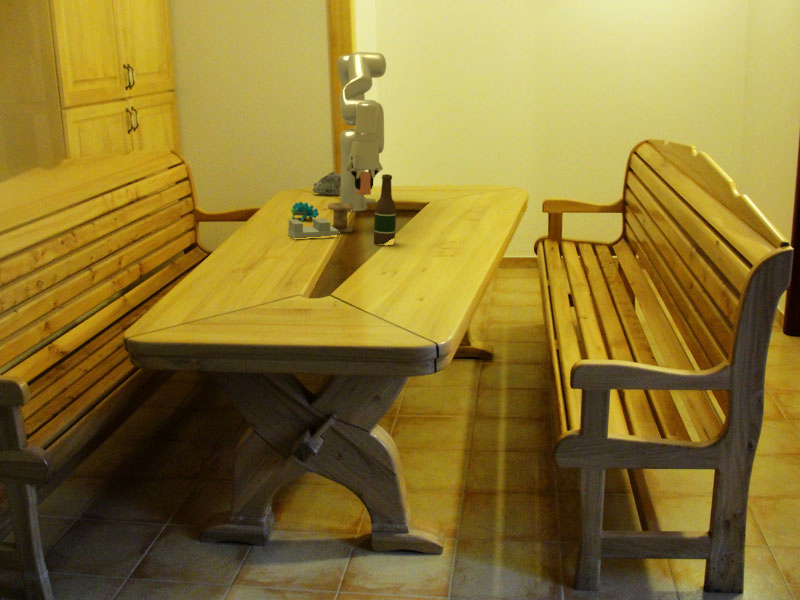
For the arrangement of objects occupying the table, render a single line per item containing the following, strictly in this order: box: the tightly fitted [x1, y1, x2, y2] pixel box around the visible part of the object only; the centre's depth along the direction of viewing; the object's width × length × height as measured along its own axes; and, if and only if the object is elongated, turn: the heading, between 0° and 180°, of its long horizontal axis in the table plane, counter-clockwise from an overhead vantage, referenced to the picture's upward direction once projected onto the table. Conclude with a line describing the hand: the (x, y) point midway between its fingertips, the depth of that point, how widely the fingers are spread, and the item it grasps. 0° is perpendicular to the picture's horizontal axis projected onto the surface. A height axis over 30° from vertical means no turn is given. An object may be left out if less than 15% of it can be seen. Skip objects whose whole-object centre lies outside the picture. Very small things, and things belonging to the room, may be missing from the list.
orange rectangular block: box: [356, 171, 372, 196], centre depth 353 cm, size 4×4×8 cm
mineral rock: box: [312, 171, 341, 196], centre depth 416 cm, size 13×11×10 cm
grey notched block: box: [287, 217, 340, 239], centre depth 344 cm, size 16×8×6 cm, turn 112°
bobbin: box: [327, 202, 353, 235], centre depth 354 cm, size 9×9×9 cm
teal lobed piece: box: [290, 201, 320, 222], centre depth 368 cm, size 11×6×10 cm
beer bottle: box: [373, 174, 397, 245], centre depth 336 cm, size 8×8×24 cm
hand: (363, 188), depth 353 cm, fingers closed on orange rectangular block, 3 cm apart
